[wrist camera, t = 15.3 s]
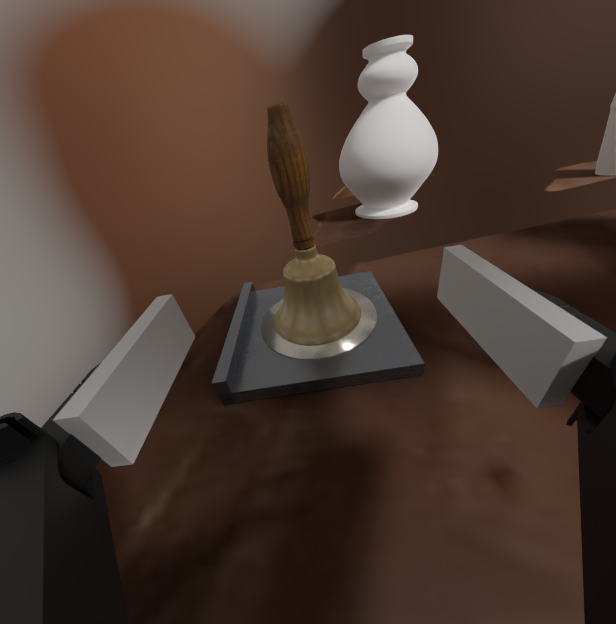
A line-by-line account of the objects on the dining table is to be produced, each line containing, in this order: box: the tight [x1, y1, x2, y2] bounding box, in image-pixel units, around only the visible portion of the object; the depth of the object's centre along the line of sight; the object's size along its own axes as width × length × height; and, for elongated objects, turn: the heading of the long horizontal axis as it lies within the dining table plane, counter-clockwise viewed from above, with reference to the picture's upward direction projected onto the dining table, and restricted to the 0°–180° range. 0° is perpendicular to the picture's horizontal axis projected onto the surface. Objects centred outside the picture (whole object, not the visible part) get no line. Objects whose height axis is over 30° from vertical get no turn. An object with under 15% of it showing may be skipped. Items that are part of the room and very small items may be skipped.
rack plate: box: [212, 271, 425, 405], centre depth 24 cm, size 15×15×2 cm
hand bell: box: [267, 103, 361, 346], centre depth 20 cm, size 8×8×16 cm
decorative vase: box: [339, 35, 438, 219], centre depth 47 cm, size 18×18×25 cm
